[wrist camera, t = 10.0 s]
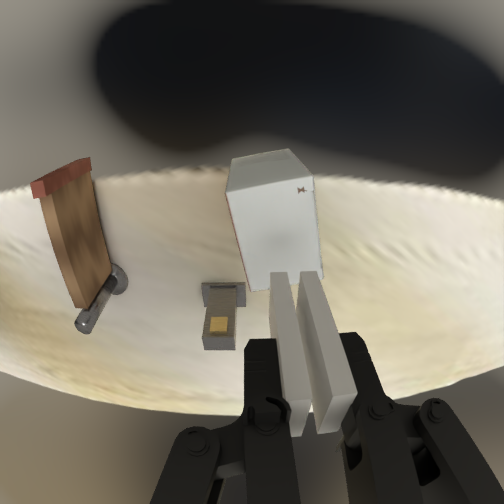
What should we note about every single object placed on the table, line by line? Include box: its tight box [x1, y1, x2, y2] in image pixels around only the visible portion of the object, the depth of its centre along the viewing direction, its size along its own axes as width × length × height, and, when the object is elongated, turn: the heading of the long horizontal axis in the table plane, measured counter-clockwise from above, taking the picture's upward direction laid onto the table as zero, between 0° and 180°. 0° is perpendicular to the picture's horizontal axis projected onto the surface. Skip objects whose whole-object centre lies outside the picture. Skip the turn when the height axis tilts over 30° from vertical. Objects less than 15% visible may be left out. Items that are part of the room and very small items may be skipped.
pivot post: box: [74, 263, 128, 334], centre depth 28 cm, size 4×4×9 cm
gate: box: [30, 157, 112, 309], centre depth 24 cm, size 13×2×8 cm, turn 1°
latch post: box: [201, 283, 246, 350], centre depth 30 cm, size 5×3×8 cm, turn 91°
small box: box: [225, 149, 324, 292], centre depth 23 cm, size 8×6×10 cm
